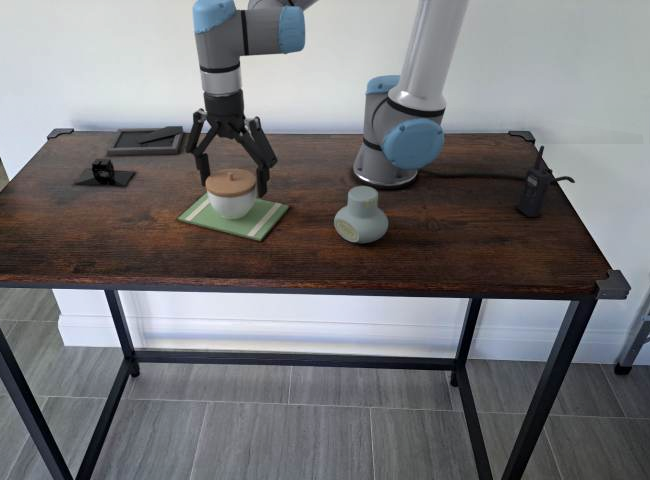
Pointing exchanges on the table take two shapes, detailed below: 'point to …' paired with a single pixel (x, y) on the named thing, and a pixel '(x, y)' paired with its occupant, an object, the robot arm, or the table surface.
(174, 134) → the picture frame
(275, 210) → the towel
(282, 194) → the table surface
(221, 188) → the trinket box
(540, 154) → the two-way radio
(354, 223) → the air freshener
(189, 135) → the robot arm
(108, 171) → the black mounting bracket
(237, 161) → the table surface
